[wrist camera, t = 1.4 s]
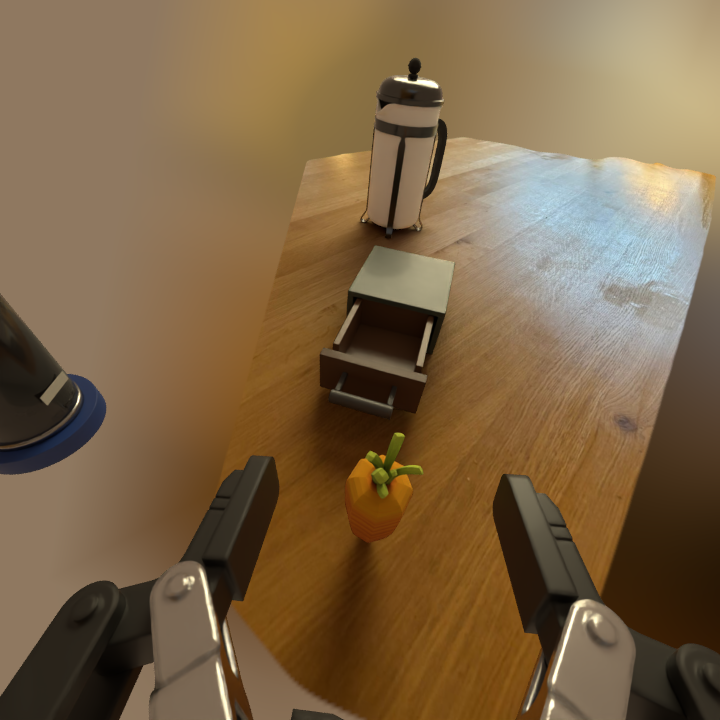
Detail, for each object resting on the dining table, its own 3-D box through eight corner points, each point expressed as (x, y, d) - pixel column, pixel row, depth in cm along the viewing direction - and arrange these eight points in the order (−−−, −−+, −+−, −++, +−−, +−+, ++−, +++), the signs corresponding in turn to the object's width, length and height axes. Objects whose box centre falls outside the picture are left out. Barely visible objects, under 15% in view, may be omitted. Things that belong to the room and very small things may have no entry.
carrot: (370, 496, 34) (392, 408, 23) (403, 539, 31) (445, 463, 20) (329, 526, 31) (333, 445, 21) (361, 575, 29) (384, 511, 18)
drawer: (408, 444, 37) (419, 414, 33) (306, 413, 39) (304, 381, 35) (430, 343, 50) (440, 312, 45) (351, 323, 51) (354, 291, 47)
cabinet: (432, 354, 49) (445, 313, 44) (345, 332, 51) (348, 290, 46) (443, 300, 59) (455, 262, 54) (370, 283, 61) (374, 245, 56)
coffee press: (422, 245, 74) (463, 66, 52) (353, 232, 75) (365, 54, 54) (429, 216, 86) (465, 60, 64) (369, 205, 87) (384, 51, 66)
